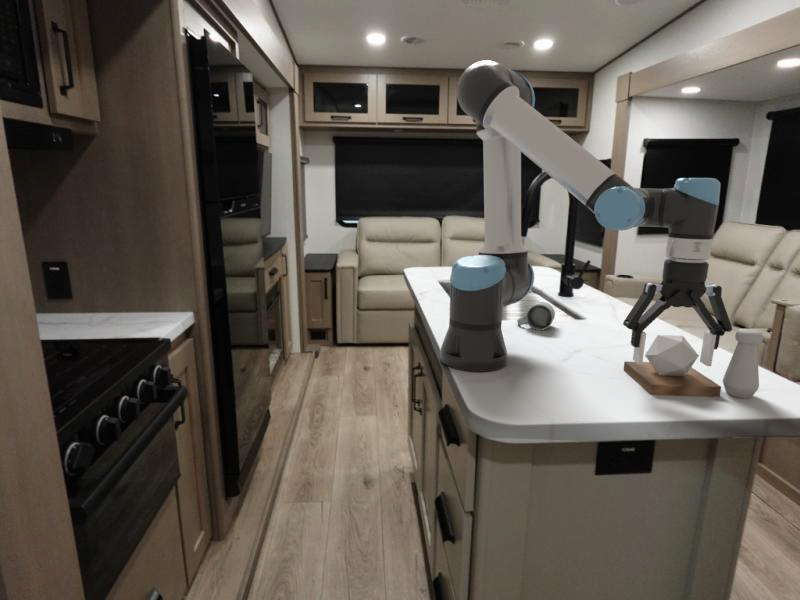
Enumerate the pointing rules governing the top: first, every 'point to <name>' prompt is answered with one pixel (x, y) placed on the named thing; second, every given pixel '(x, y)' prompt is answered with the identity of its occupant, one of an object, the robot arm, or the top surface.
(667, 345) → the die
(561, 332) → the top surface
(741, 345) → the salt shaker
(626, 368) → the walnut board
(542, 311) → the ceramic mug
